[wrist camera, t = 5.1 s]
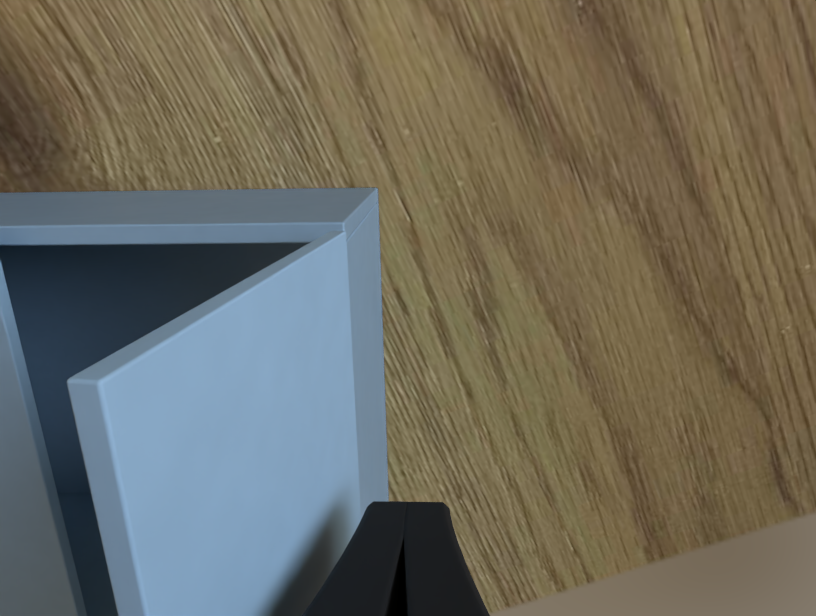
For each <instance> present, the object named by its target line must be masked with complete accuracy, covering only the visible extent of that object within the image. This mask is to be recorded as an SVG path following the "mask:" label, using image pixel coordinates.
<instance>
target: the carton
mask: <svg viewBox="0 0 816 616" xmlns="http://www.w3.org/2000/svg"><path fill="white" fill-rule="evenodd" d="M330 231H345V232H346V240H347V260H348V279H349V298H350V317H351V336H352V355H353V374H354V394H355V413H356V432H357V451H358V470H359V489H360V508H361V519H362V517H363V515H364V512H365V510H366V508H367V506H369V505H370V504H371V503H372V502H373V501H387V502H388V499H389V498H388V469H387V440H386V410H385V381H384V352H383V322H382V293H381V264H380V234H379V205H378V188H312V189H241V190H170V191H99V192H28V193H0V616H118V613H117V608H116V604H115V599H114V595H113V590H112V586H111V581H110V577H109V572H108V568H107V563H106V559H105V554H104V550H103V545H102V541H101V536H100V532H99V527H98V523H97V518H96V514H95V509H94V505H93V500H92V496H91V491H90V487H89V482H88V478H87V473H86V469H85V464H84V460H83V455H82V451H81V446H80V442H79V437H78V433H77V428H76V424H75V419H74V415H73V410H72V406H71V401H70V397H69V392H68V388H67V380H68V378H70V377H72V376H74V375H76V374H77V373H79V372H81V371H83V370H84V369H86V368H88V367H90V366H92V365H93V364H95V363H97V362H99V361H101V360H102V359H104V358H106V357H108V356H109V355H111V354H113V353H115V352H117V351H118V350H120V349H122V348H124V347H125V346H127V345H129V344H131V343H133V342H134V341H136V340H138V339H140V338H141V337H143V336H145V335H147V334H149V333H150V332H152V331H154V330H156V329H157V328H159V327H161V326H163V325H165V324H166V323H168V322H170V321H172V320H173V319H175V318H177V317H179V316H181V315H182V314H184V313H186V312H188V311H189V310H191V309H193V308H195V307H197V306H198V305H200V304H202V303H204V302H205V301H207V300H209V299H211V298H213V297H214V296H216V295H218V294H220V293H221V292H223V291H225V290H227V289H229V288H230V287H232V286H234V285H236V284H238V283H239V282H241V281H243V280H245V279H246V278H248V277H250V276H252V275H254V274H255V273H257V272H259V271H261V270H262V269H264V268H266V267H268V266H270V265H271V264H273V263H275V262H277V261H278V260H280V259H282V258H284V257H286V256H287V255H289V254H291V253H293V252H294V251H296V250H298V249H300V248H302V247H303V246H305V245H307V244H309V243H310V242H312V241H314V240H316V239H318V238H319V237H321V236H323V235H325V234H326V233H328V232H330Z"/></svg>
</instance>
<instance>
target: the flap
mask: <svg viewBox="0 0 816 616" xmlns="http://www.w3.org/2000/svg"><path fill="white" fill-rule="evenodd" d="M67 388H68V392H69V397H70V401H71V406H72V410H73V415H74V419H75V424H76V428H77V433H78V437H79V442H80V446H81V451H82V455H83V460H84V464H85V469H86V473H87V478H88V482H89V487H90V491H91V496H92V500H93V505H94V509H95V514H96V518H97V523H98V527H99V532H100V536H101V541H102V545H103V550H104V554H105V559H106V563H107V568H108V572H109V577H110V581H111V586H112V590H113V595H114V599H115V604H116V608H117V613H118V616H302V615H303V613H304V612H305V610H306V609H307V608H308V606H309V605H310V603H311V602H312V601H313V599H314V598H315V596H316V595H317V593H318V592H319V590H320V589H321V587H322V586H323V584H324V582H325V581H326V579H327V578H328V576H329V575H330V573H331V571H332V570H333V568H334V567H335V565H336V564H337V562H338V560H339V559H340V557H341V555H342V554H343V552H344V550H345V549H346V547H347V545H348V543H349V542H350V540H351V538H352V536H353V534H354V533H355V531H356V529H357V527H358V525H359V523H360V521H361V508H360V489H359V470H358V451H357V432H356V413H355V394H354V374H353V355H352V336H351V317H350V298H349V279H348V260H347V240H346V232H345V231H330V232H328V233H326V234H325V235H323V236H321V237H319V238H318V239H316V240H314V241H312V242H310V243H309V244H307V245H305V246H303V247H302V248H300V249H298V250H296V251H294V252H293V253H291V254H289V255H287V256H286V257H284V258H282V259H280V260H278V261H277V262H275V263H273V264H271V265H270V266H268V267H266V268H264V269H262V270H261V271H259V272H257V273H255V274H254V275H252V276H250V277H248V278H246V279H245V280H243V281H241V282H239V283H238V284H236V285H234V286H232V287H230V288H229V289H227V290H225V291H223V292H221V293H220V294H218V295H216V296H214V297H213V298H211V299H209V300H207V301H205V302H204V303H202V304H200V305H198V306H197V307H195V308H193V309H191V310H189V311H188V312H186V313H184V314H182V315H181V316H179V317H177V318H175V319H173V320H172V321H170V322H168V323H166V324H165V325H163V326H161V327H159V328H157V329H156V330H154V331H152V332H150V333H149V334H147V335H145V336H143V337H141V338H140V339H138V340H136V341H134V342H133V343H131V344H129V345H127V346H125V347H124V348H122V349H120V350H118V351H117V352H115V353H113V354H111V355H109V356H108V357H106V358H104V359H102V360H101V361H99V362H97V363H95V364H93V365H92V366H90V367H88V368H86V369H84V370H83V371H81V372H79V373H77V374H76V375H74V376H72V377H70V378H68V380H67Z"/></svg>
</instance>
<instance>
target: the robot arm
mask: <svg viewBox="0 0 816 616" xmlns="http://www.w3.org/2000/svg"><path fill="white" fill-rule="evenodd" d="M302 616H490V615H489V613H488V611H487V609H486V607H485V605H484V603H483V601H482V599H481V596H480V594H479V592H478V590H477V588H476V586H475V583H474V581H473V579H472V577H471V575H470V572H469V570H468V567H467V565H466V563H465V560H464V557H463V555H462V552H461V549H460V547H459V544H458V541H457V538H456V535H455V532H454V528H453V525H452V521H451V516H450V510H449V508H448V507H447V506H446V505H445V504H444V503H443V502H387V501H373V502H372V503H371V504H370V505H369V506H367V508H366V510H365V512H364V515H363V517H362V519H361V521H360V523H359V525H358V527H357V529H356V531H355V533H354V534H353V536H352V538H351V540H350V542H349V543H348V545H347V547H346V549H345V550H344V552H343V554H342V555H341V557H340V559H339V560H338V562H337V564H336V565H335V567H334V568H333V570H332V571H331V573H330V575H329V576H328V578H327V579H326V581H325V582H324V584H323V586H322V587H321V589H320V590H319V592H318V593H317V595H316V596H315V598H314V599H313V601H312V602H311V603H310V605H309V606H308V608H307V609H306V610H305V612H304V613H303V615H302Z"/></svg>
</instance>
